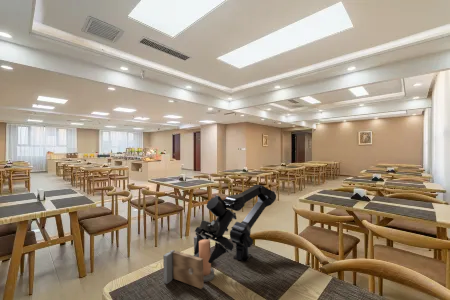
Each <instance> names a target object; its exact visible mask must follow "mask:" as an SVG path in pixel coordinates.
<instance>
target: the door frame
mask: <svg viewBox="0 0 450 300" xmlns="http://www.w3.org/2000/svg"><path fill="white" fill-rule="evenodd" d="M196 243H197V235H196V236H194V237H193V250H194V251H195V247H196ZM194 251H193V252H194ZM193 256H195V257H199V252H198V253H197V254H196V255H195V254H194V253H193ZM162 260H163V283H164V284H166V285H168V284H169V283H170V282H172V281H173V278H172V253H170V251H169V252H166V253H165V254H163V259H162Z"/></svg>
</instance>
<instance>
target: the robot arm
mask: <svg viewBox="0 0 450 300" xmlns="http://www.w3.org/2000/svg"><path fill="white" fill-rule="evenodd" d="M256 197H257V201H256V202H255V204H254V205H253V207H252V208H251V210H250V211H249V212H248V213H247V215H246V216H245V217H244V219H243V220H242V221H241V222H239V221H236V222H235V223H234V224H233V226H232V227H231V229H230V231H229V228H228V227H229V225H230V223H231V222H232V220H237V215H236V212H239V211H241V210H242V209H243V208H244V207H245V204H246V203H247V202H249V201H251V200H252V199H254V198H256ZM276 199H277V194H276V192H275V191H273V190H271V189H269V188H267V187H266V186H264V185H262V184H255V185H253V186H251V187H250V188H247V189H246V190H244V191H242V192H240V193H238V194H237V193H236V194H231V195H228V196H226V198H225V199H222V198H221V196H220V195H215V196H214V197H212V198H210V199H209V200H208V201H207V204H206V208H207V210H208V211H210V212H211V214H213V216H215V217H216V219H213V220H212V221H207V220H205V219H201V222H200V226H197V227H196V228H195V230H194V232H195V235H196V236H197V243H196V247H195V251H193V255H194V254H195V255H196V254H197V253H198V252H199V241H200V240H203V239H207V240H210V241H211V240H212V241H214V242H215V243H214V248H213V251H212V252H211V253H210V254H211V256H210V258H209V261H208V262H209V263H211V264H212V263H213V262H214V261H216V260H217V259H218V258H219V257H221V256H223V255H224V254H225V253H226V254H227V253H229V252H232V251H233V249H234V244H235V254H234V256H233V259H234V260H237V261H241V262H247V261H248V260H249V259H250V258H251V257H252V254H251V253H249V252H250V251H249V249H250V248H251V247H252V246H253V244H254V240H253V238H252V237H251V230H252V227H253V226H254V225H255V223H256V221H257V220H258V219H259V218H260V216H261V215H262V213H263V212H264V211H265V209H266V208H267V207H269V206H271V205H273V204H274V202H276ZM233 211H236V212H233ZM227 232H229V238H230V239H229V238H228V237H225V236H224V235H225V233H227Z"/></svg>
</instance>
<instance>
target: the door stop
mask: <svg viewBox="0 0 450 300" xmlns="http://www.w3.org/2000/svg"><path fill="white" fill-rule="evenodd" d="M211 254H212V253H211V239H208V240H207V239H203V240H200V241H199V258H202V259H203V277H204V283H206V282H211V281H212V280H213V279H214V278H215V270H214V269H213V268H212V262H211V263H209V262H208V261H209V258H210V256H211Z"/></svg>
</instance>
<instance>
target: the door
mask: <svg viewBox="0 0 450 300" xmlns="http://www.w3.org/2000/svg"><path fill="white" fill-rule="evenodd" d="M169 252H170V253H172V279H174V280H177V281H178V282H182V283H184V284H186V285H189V286H192V287H195V288H197V289H200V290H202V289H203V288H204V287H205V282H204V277H203V259H202V258H199V257H195V256H194V255H192V254H188V253H184V252H180V251H177V250H174V249H171V250H170V251H169Z"/></svg>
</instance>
